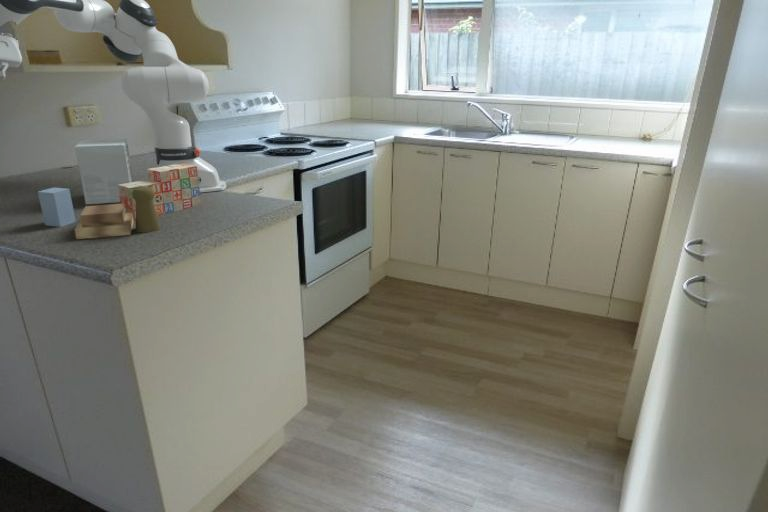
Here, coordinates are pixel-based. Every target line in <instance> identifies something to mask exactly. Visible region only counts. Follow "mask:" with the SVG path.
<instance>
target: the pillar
mask: <svg viewBox="0 0 768 512" xmlns="http://www.w3.org/2000/svg"><path fill="white" fill-rule="evenodd" d="M37 195H38V199H39V204H40V209H41V213H42V217H43V222H44V226H50V227H57V228H58V227H59V228H62V227H64V226H68V225H69V224H70V225H71V224H73V223H75V222H76V216H75V211H74V206H73V200H72V197H71V196H72V195H71V192H70V188H63V187H51V188H47V189H43V190H38V191H37Z"/></svg>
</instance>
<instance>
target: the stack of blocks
mask: <svg viewBox="0 0 768 512" xmlns="http://www.w3.org/2000/svg"><path fill="white" fill-rule="evenodd" d="M146 172H147V179H143V180H139V181H138V180H137V181H133V182H131V183H125V184H119V185H118V189H119V195H120V196H119V197H120V202H119V204H124V207H125V213H132V214H133V220H134V221H136V201H135V200H134V199H133V196H132V191H133V189H135V188H137V187H151V188H152V189H153V190H154V194H155V195H154V198H153V201H154V205H155V208H156V212H157V215H158V216H160V215H165V214H169V212H170V213H174V212H177V211H182V209H183V210H186V208H187V209H190V207H192V208H195V207H194V206H196V207H200V206H201V205H202V201H201V196H200V194H201V193H200V191H199V178H198V173H197V166H194V165H189V164H178V165H176V164H174V165H167V166H163V167H158V166H157V167H151V168H147V169H146ZM199 205H200V206H199ZM173 211H174V212H173Z"/></svg>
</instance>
